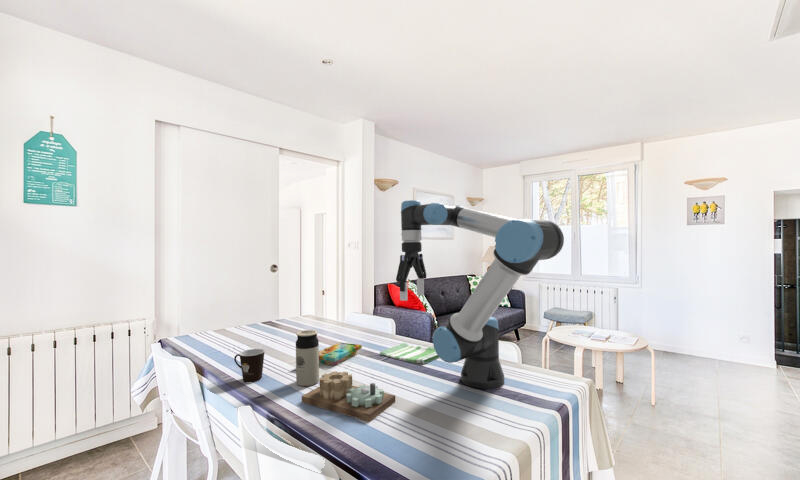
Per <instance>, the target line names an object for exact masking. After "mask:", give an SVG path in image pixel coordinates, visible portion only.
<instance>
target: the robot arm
mask: <svg viewBox="0 0 800 480" xmlns="http://www.w3.org/2000/svg"><path fill="white" fill-rule="evenodd" d="M400 217H401V218H400V220H401V222H400V224H401V226H400V227H401V234H400V235H401V241H402V243H401V252H403V253H404V254H400V256H399V264H398V269H397V274H396V278H395V281H396V283H399V301H405V302H407V301H408V297H409V296H408V282H407V280H408V276H409V274H410V271H411V269H412V268H413V270H414V271H415V274H416V277H417V278H416V295H417V296H425V287H424V286H425V284H424V283H425V280H424V279H427V272H426V271H427V270H426V266H425V263H424V258H423V257H424V255H423V253H421V252H422V247H423V246H422V240H423V239H422V226H452V227H456V228H461V229H464V230H468V231H471V232H475V233H478V234H482V235H485V236H489V237H493V238H494V242H495V244H494V249H493V252H492V253H493V257H494V260H493V261H492V263H490V266H489V267H488V269H487V270H486V272H485V273H484V275H483V276H482V278H481V279H480V281H479V283H477V284H476V287H475V288H474V290H473V291H472V293H471V294H470V295H469V297H468V299H467V301H466V302H465V303H464V305H463V306H462V308H461V309H460V311H459V312H456V313H453V314H452V315H451V316H450V317H449V319H448V321H447V322H446V324H445V325H443V326H441V325H440V326H439V327H437V328H435V330H434V331H433V334H432V345H433V348H434V349H435V351H436V353H437V355H438V356H439V359H440V360H442V361H443V362H445V363H448V364H452V363H458V362H460V361H463V360H464V361H463V362H464V363H463V365H462V369H461V373H460V380H461V383H463V384H464V385H466V386H469V387H472V388H475V389H483V390H484V389H485V390H486V389H496V388H500V387H502V386H503V385H504V384H505V373H504V370H503V367H502V365H501V362H500V353H499V352H500V346H499V345H500V344H499V342H500V341H499V339H500V338H499V337H500V336H499V330H500V328H499V320H498V319H497V318H496V317H494V316H493V314H494V313H495V312H496V310H497V309H498V308H499V306H500V305H501V303H502V302H503V301H504V299H505V298H506V296H507V295H508V294H509V293H510V291H511V290H512V288H513V287H514V285H515V284H516V283H517V282H518V280H519V279H520V277H521V276H527V275H529V274H530V273H531V272H532V271H533V269H534V267H535V266H536V265H537V264H538V262H539V261H543V260H544V261H546V260H549V259H552V258H554V257H556V256H557V255H558V254H559V253H561V251H562V249H563V247H564V245H565V244H564V243H565V236H564V233H563V231H562V230H561V228H560V226H559V225H557V224H556V223H555V222H553V221H550V220H546V219H545V220H544V219H531V218H524V217H523V218H522V217H521V218H512V217H508V216H503V215H499V214H493V213H488V212H485V211H480V210H476V209H471V208H467V207H466V206H461V205H447V204H443V203H441V202H431V203H426V204H422V203H421V201H420V200H414V199H413V200H404V201H402V202H401V206H400Z"/></svg>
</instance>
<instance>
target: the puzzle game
mask: <svg viewBox="0 0 800 480" xmlns="http://www.w3.org/2000/svg"><path fill="white" fill-rule="evenodd" d="M362 346H363V345H362V344H359V343H358V344H357V343H349V342H341V341H340V342H338V343H336V344H333V345H331V346H328V347H325V348H323V349H321V350H319V364H321V363H322V364H323V365H328V366H333V367H334V366H336V364H337V365H339V364H341V363H342V362H345V361H346V360H348V359H349V358H352V357H353V356H355V355H356V354H357V352H358V351H359V350H361V349H362V348H363V347H362ZM338 363H339V364H338Z"/></svg>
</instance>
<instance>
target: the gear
mask: <svg viewBox="0 0 800 480" xmlns="http://www.w3.org/2000/svg"><path fill="white" fill-rule="evenodd" d="M358 387H359V388H356V389H355V388H351V389H350V390H349V393H347V394H346V399H347V403H349V402H352V406H354V407H358V406H359V405H360V406H365V407H372V404H375V403H377V404H380V403H381V402H382V398H384V393H385V392H384V389H383V388H380V389H379V386H377V385H376V383H375V382H373V383H372V382H371V383H369V386H366V385H365V384H364V385H359V386H358Z"/></svg>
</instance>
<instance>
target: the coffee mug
mask: <svg viewBox="0 0 800 480" xmlns="http://www.w3.org/2000/svg"><path fill="white" fill-rule="evenodd" d="M237 357H239V360H240V364H239V363H238V361H237ZM264 359H265V349H263V348H250V349H245V350H243V351H240V352H239V353H238V354H236V355H234V358H233V360H234V363H235V365H236V366H237V367H239V369H241V375H242V376H241V377H242V381H243V383H246V382H252V383H256V382H259V381H261V380H262V379H263V371H264V370H263V369H264V362H265V361H264ZM261 378H262V379H261ZM260 379H261V380H260Z"/></svg>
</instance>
